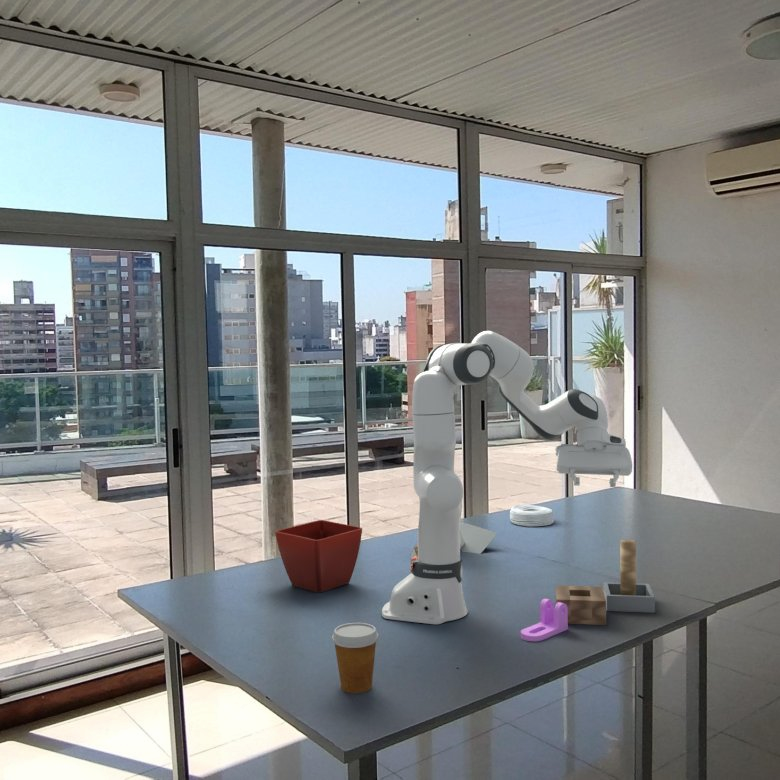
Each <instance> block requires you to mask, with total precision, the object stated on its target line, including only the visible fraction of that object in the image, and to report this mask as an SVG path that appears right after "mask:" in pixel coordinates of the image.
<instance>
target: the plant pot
mask: <svg viewBox="0 0 780 780" xmlns="http://www.w3.org/2000/svg"><path fill="white" fill-rule="evenodd" d="M274 533H275V539H276V543H277V547H278V551H279V555H280V557H281V560H282V564H283V567H284V569H285V571H286V573H287V576H288V579H289V581H290V583H291V585H292V586H293V587H297V588H300V589H304V590H307V591H310V592H314V593H318V594H319V593H323V592H327V591H329V590H332V589H335V588H338V587H341V586H344V585H347V584H349V583H350V582H351V579H352V576H353V573H354V571H355V567H356V563H357V561H358V556H359V551H360V547H361V542H362V534H363V527H360V526H355V525H350V524H346V523H339V522H334V521H330V520H329V521H328V520H325V519H321V520H320V519H319V520H314V521H310V522H306V523H302V524H299V525H294V526H290V527H286V528H282V529H277V530H275V532H274Z"/></svg>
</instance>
